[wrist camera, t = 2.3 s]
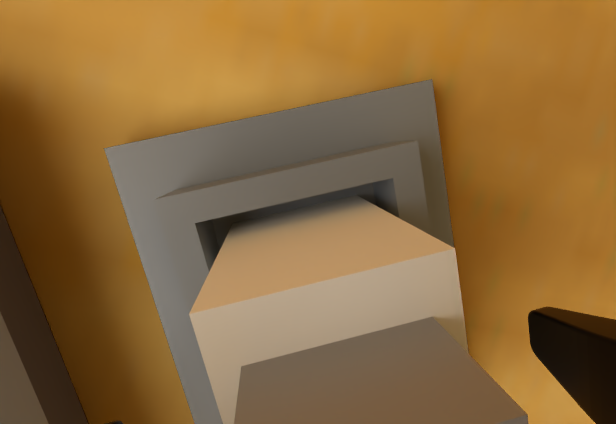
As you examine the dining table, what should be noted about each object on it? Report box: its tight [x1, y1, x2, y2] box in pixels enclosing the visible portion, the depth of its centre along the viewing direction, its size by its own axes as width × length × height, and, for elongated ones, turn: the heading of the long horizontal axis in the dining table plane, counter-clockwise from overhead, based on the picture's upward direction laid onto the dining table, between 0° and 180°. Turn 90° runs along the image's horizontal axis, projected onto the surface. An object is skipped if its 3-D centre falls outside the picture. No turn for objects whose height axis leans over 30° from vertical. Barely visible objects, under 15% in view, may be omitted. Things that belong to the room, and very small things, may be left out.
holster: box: [104, 79, 454, 424], centre depth 11 cm, size 12×10×3 cm
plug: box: [189, 195, 528, 424], centre depth 8 cm, size 6×4×8 cm, turn 12°
